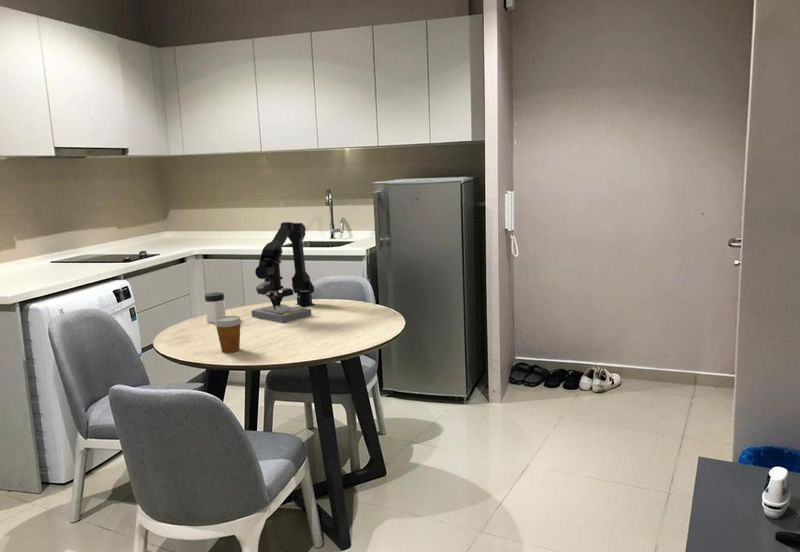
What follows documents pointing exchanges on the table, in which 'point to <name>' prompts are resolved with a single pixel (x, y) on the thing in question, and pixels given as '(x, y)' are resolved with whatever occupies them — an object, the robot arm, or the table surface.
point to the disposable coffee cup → (229, 333)
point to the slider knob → (280, 308)
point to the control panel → (280, 314)
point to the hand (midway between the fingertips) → (276, 310)
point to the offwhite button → (293, 308)
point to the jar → (214, 306)
